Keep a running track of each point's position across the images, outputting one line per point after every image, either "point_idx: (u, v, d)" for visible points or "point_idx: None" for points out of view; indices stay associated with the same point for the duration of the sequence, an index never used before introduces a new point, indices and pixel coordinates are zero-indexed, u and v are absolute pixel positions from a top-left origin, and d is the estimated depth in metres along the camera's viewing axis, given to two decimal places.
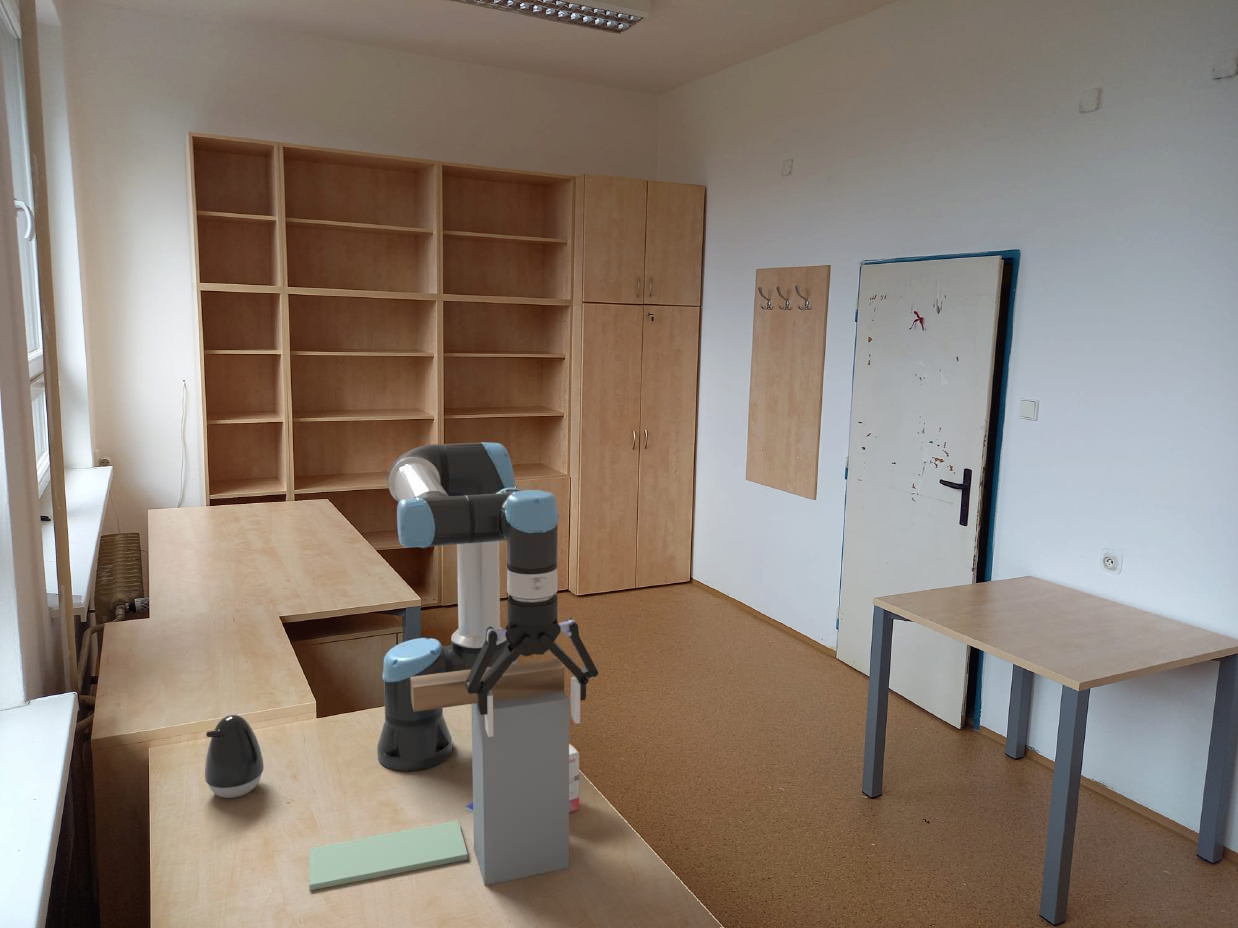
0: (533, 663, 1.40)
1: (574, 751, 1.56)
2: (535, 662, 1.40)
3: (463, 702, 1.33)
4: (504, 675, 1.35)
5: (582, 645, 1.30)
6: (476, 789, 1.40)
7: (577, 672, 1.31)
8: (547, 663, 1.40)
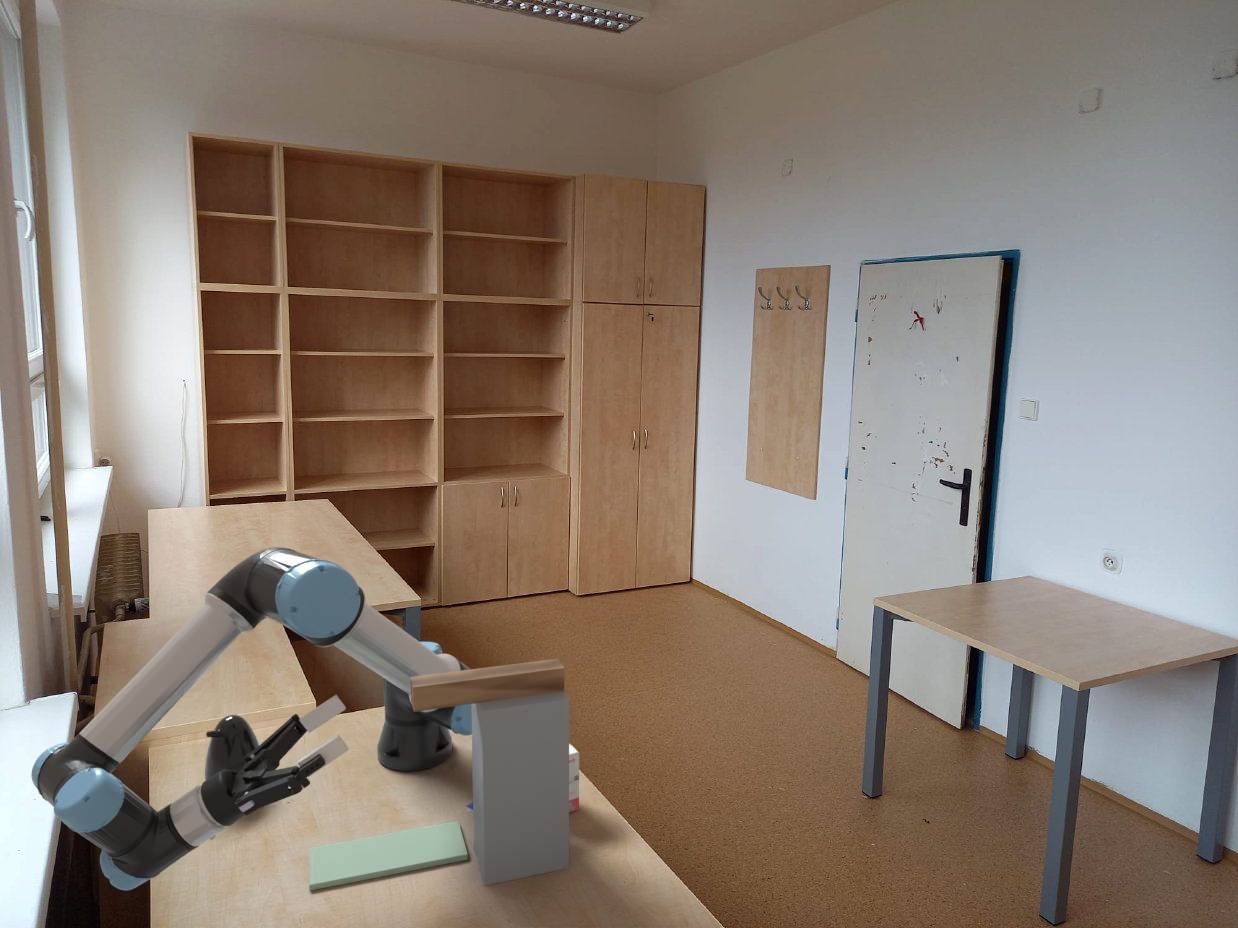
0: (533, 663, 1.40)
1: (574, 751, 1.56)
2: (535, 662, 1.40)
3: (463, 702, 1.33)
4: (504, 675, 1.35)
5: None
6: (476, 789, 1.40)
7: None
8: (547, 663, 1.40)
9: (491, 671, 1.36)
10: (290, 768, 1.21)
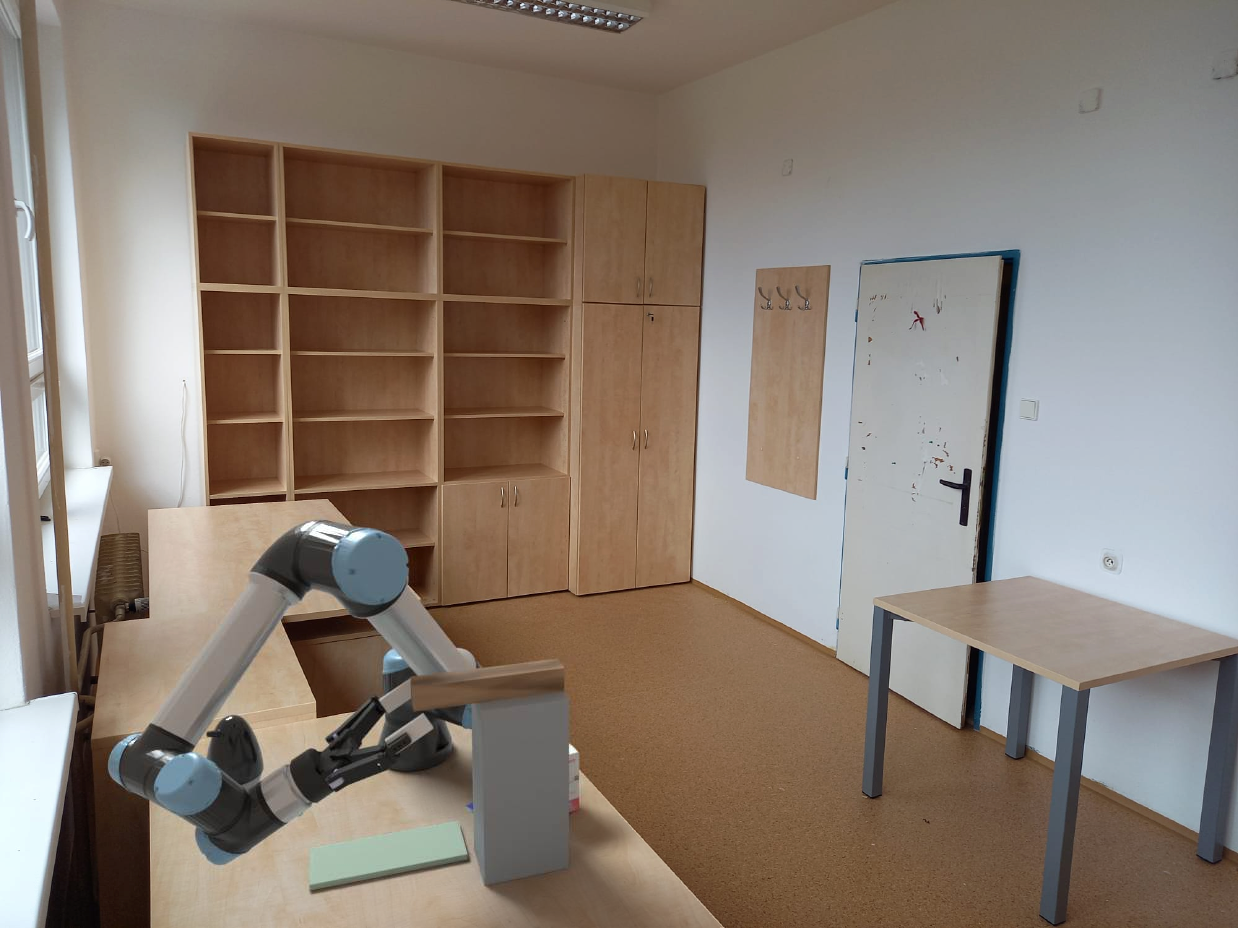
0: (533, 663, 1.40)
1: (574, 751, 1.56)
2: (535, 662, 1.40)
3: (463, 702, 1.33)
4: (504, 675, 1.35)
5: None
6: (476, 789, 1.40)
7: None
8: (547, 663, 1.40)
9: (491, 671, 1.36)
10: (378, 746, 1.24)
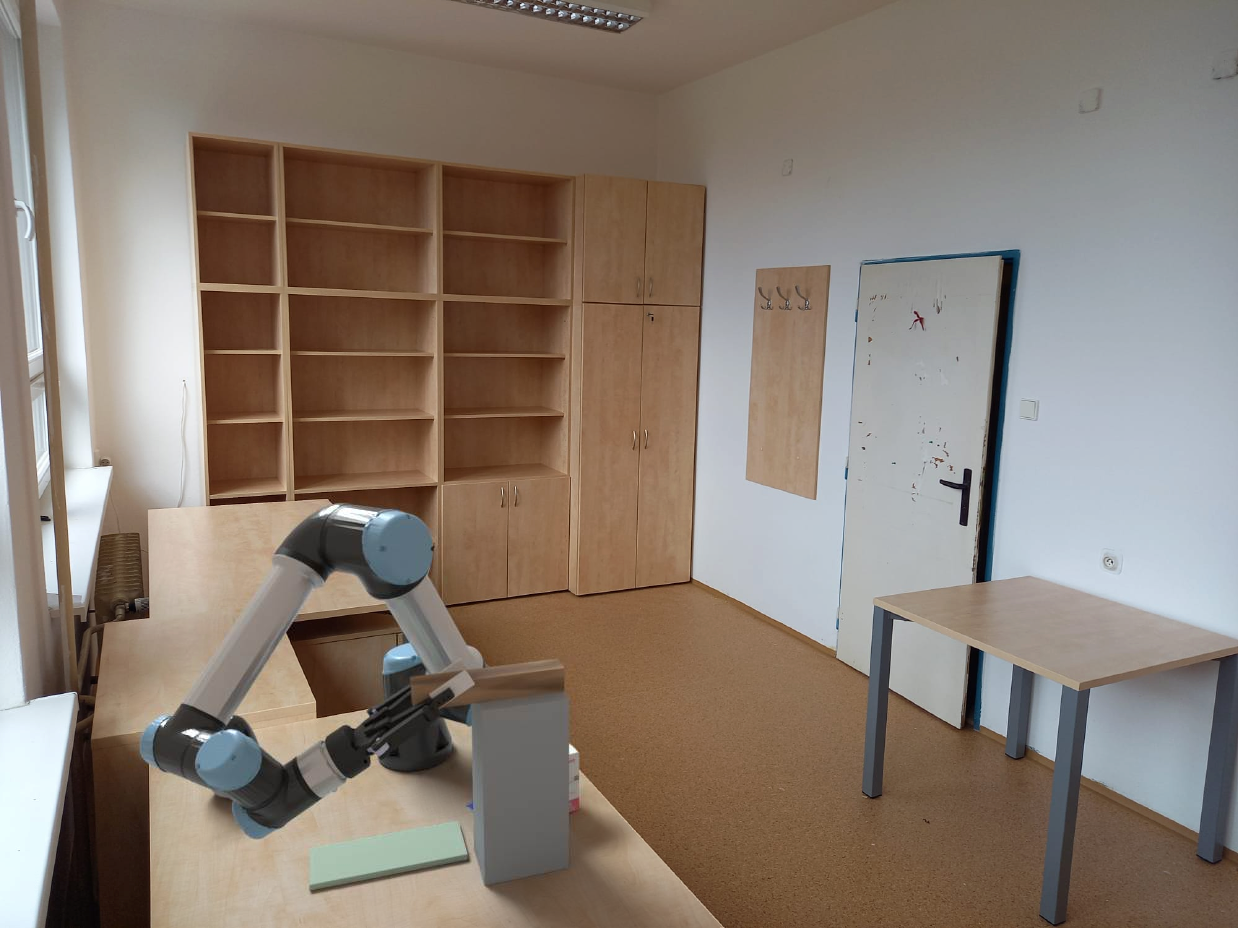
0: (533, 663, 1.40)
1: (574, 751, 1.56)
2: (535, 662, 1.40)
3: (463, 702, 1.33)
4: (504, 675, 1.35)
5: None
6: (476, 789, 1.40)
7: None
8: (547, 663, 1.40)
9: (491, 671, 1.36)
10: (421, 702, 1.30)
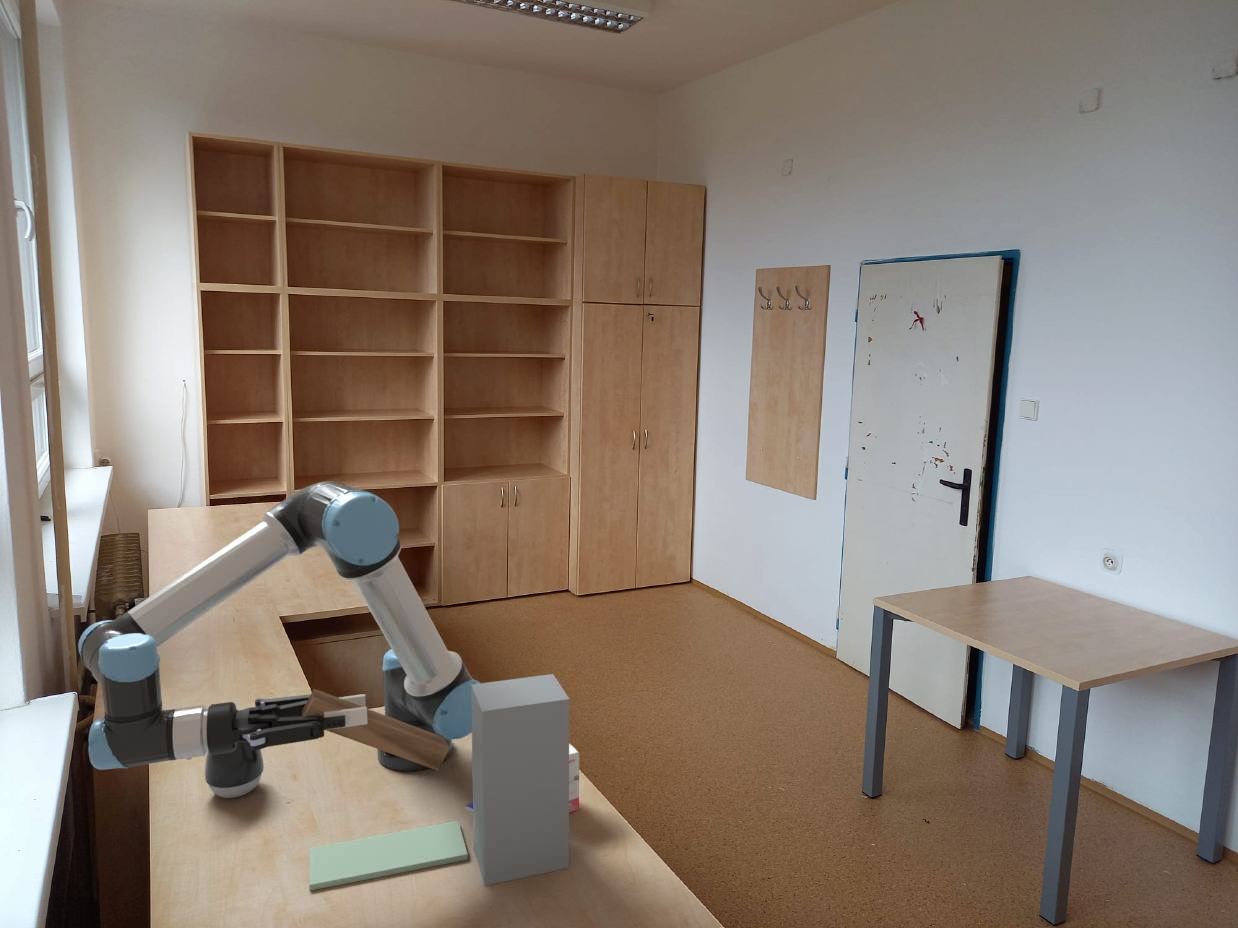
0: (423, 731, 1.44)
1: (574, 751, 1.56)
2: (425, 731, 1.44)
3: (347, 735, 1.36)
4: (395, 729, 1.39)
5: None
6: (476, 789, 1.40)
7: None
8: (435, 737, 1.44)
9: (386, 720, 1.40)
10: (313, 716, 1.33)
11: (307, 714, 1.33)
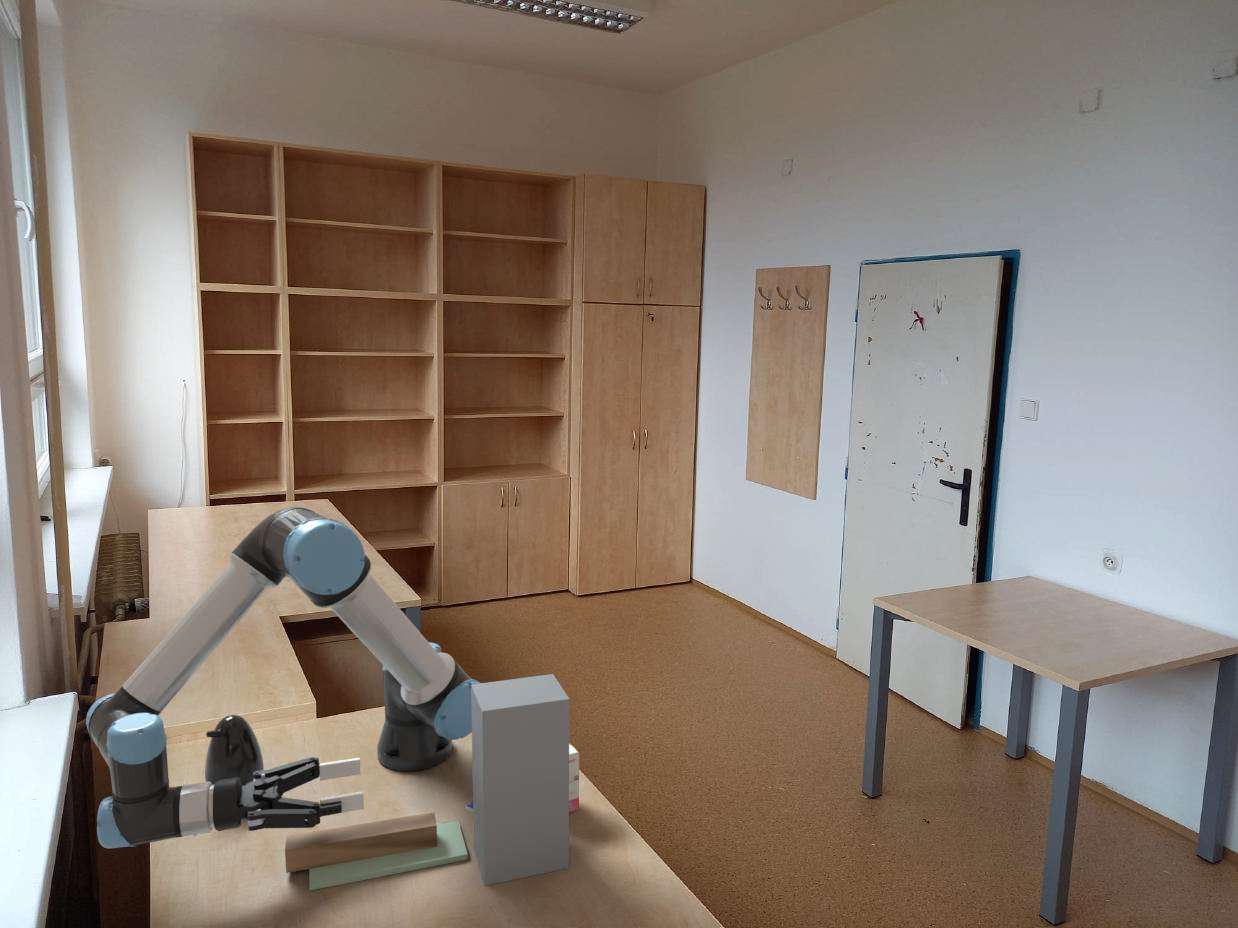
0: (409, 818, 1.46)
1: (574, 751, 1.56)
2: (411, 817, 1.46)
3: (335, 861, 1.40)
4: (376, 834, 1.41)
5: None
6: (476, 789, 1.40)
7: None
8: (421, 819, 1.46)
9: (365, 829, 1.43)
10: (310, 802, 1.32)
11: (287, 864, 1.37)
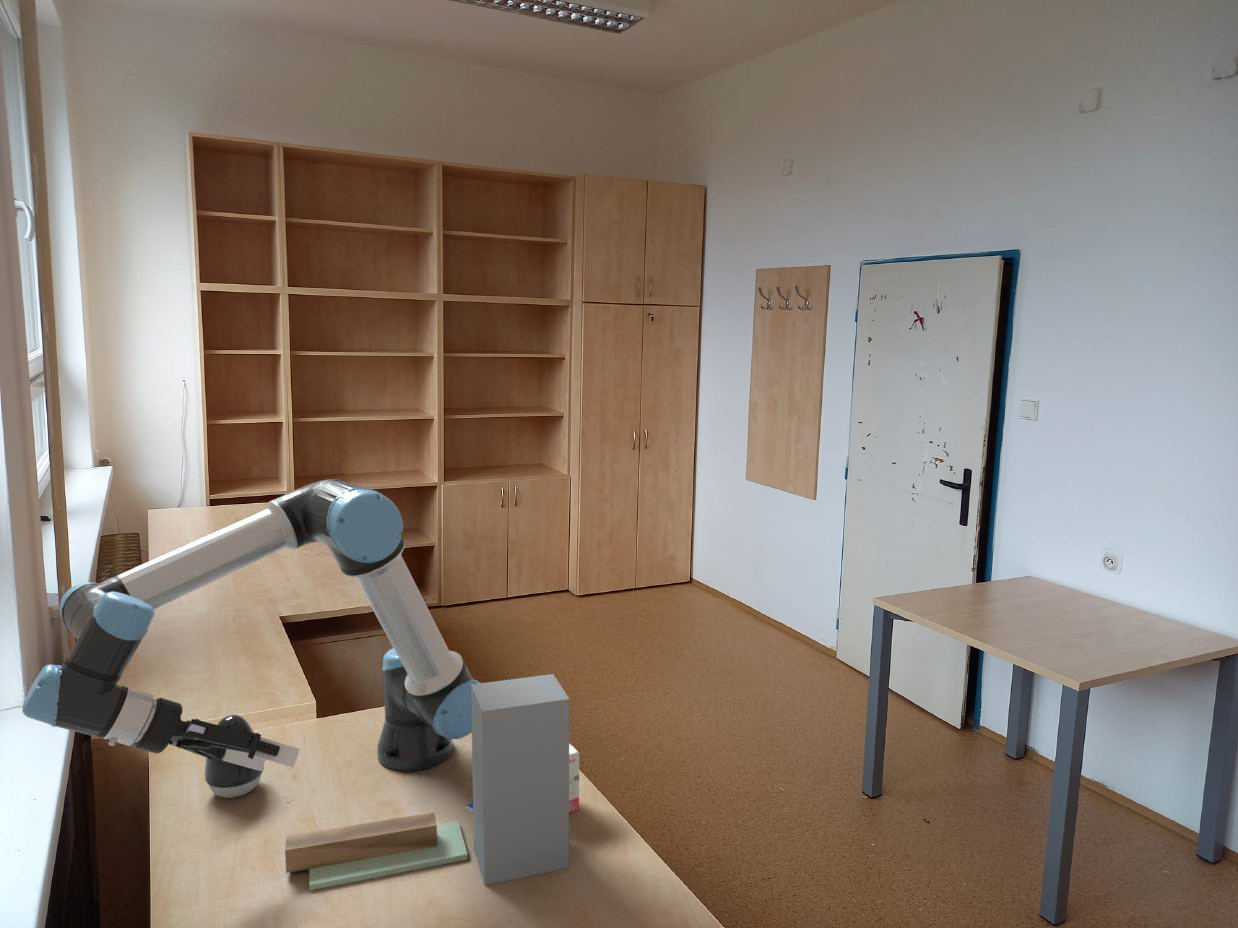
0: (409, 818, 1.46)
1: (574, 751, 1.56)
2: (411, 817, 1.46)
3: (335, 861, 1.40)
4: (376, 834, 1.41)
5: (214, 742, 1.25)
6: (476, 789, 1.40)
7: (241, 750, 1.27)
8: (421, 819, 1.46)
9: (365, 829, 1.43)
10: None
11: (287, 864, 1.37)
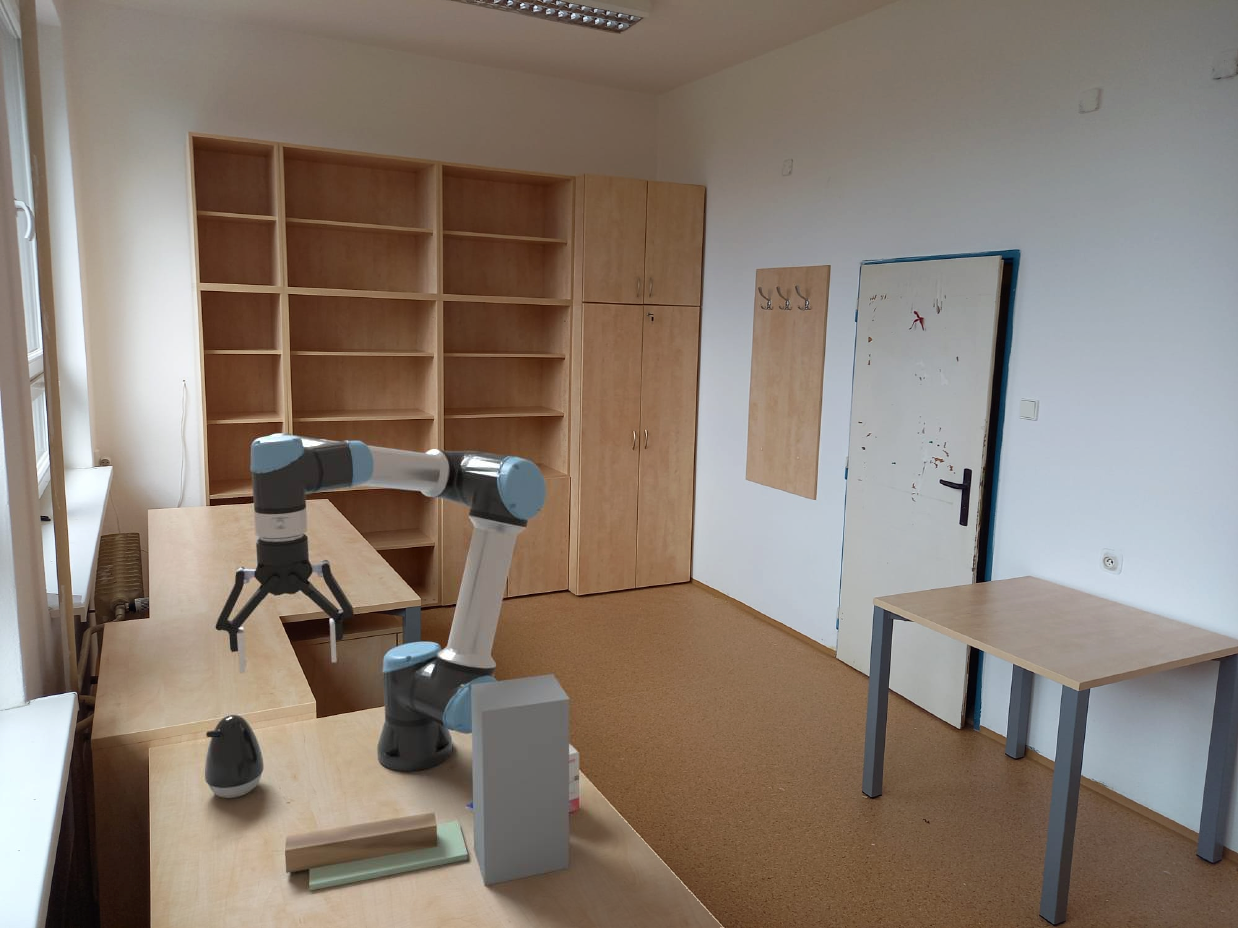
0: (409, 818, 1.46)
1: (574, 751, 1.56)
2: (411, 817, 1.46)
3: (335, 861, 1.40)
4: (376, 834, 1.41)
5: (335, 586, 1.35)
6: (476, 789, 1.40)
7: (331, 612, 1.36)
8: (421, 819, 1.46)
9: (365, 829, 1.43)
10: None
11: (287, 864, 1.37)
